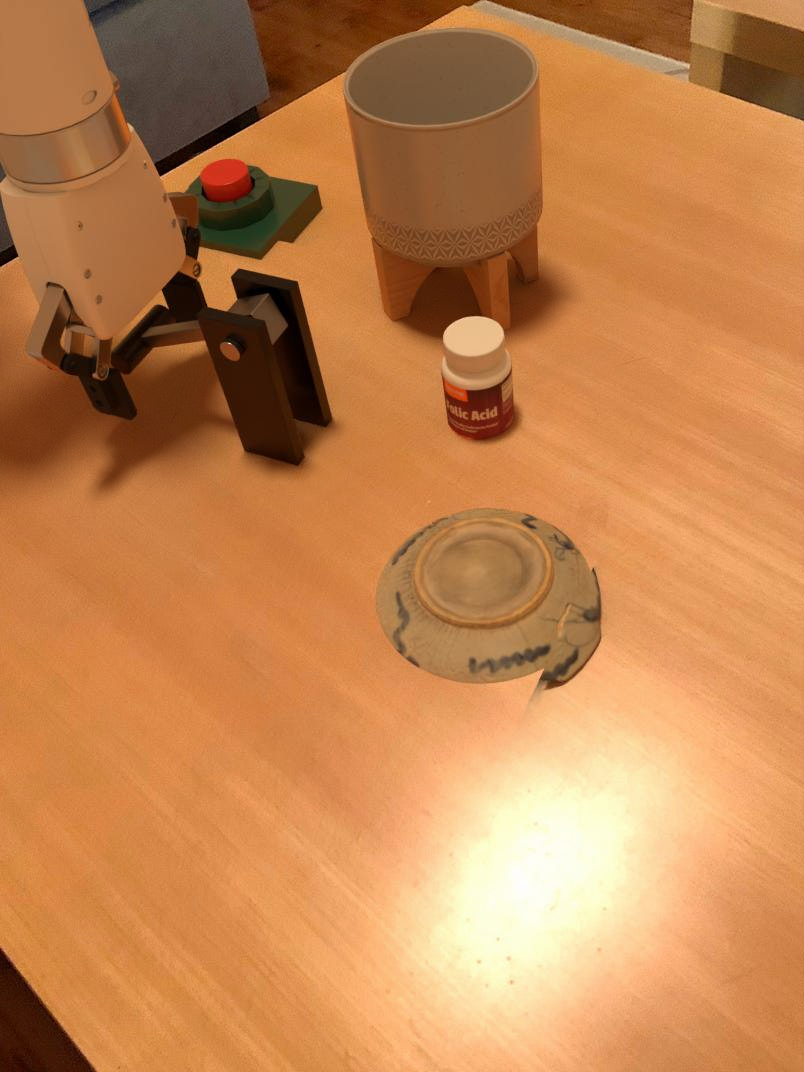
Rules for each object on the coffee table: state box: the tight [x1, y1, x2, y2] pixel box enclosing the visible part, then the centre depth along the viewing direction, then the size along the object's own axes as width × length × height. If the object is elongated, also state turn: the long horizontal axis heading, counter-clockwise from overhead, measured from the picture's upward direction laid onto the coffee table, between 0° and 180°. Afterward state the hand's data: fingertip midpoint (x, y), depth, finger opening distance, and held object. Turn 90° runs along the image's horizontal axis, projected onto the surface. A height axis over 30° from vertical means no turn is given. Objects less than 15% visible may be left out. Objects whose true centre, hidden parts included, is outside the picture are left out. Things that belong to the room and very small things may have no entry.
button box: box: [183, 164, 323, 261], centre depth 89 cm, size 11×10×4 cm
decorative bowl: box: [375, 507, 602, 685], centre depth 64 cm, size 15×4×15 cm
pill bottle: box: [440, 315, 516, 441], centre depth 71 cm, size 5×5×8 cm
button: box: [199, 158, 253, 203], centre depth 87 cm, size 4×4×2 cm
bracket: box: [196, 267, 333, 467], centre depth 69 cm, size 12×9×13 cm
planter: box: [342, 26, 544, 332], centre depth 76 cm, size 13×13×18 cm
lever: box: [110, 293, 288, 376], centre depth 69 cm, size 13×6×2 cm, turn 66°
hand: (157, 368), depth 74 cm, fingers open, 9 cm apart
